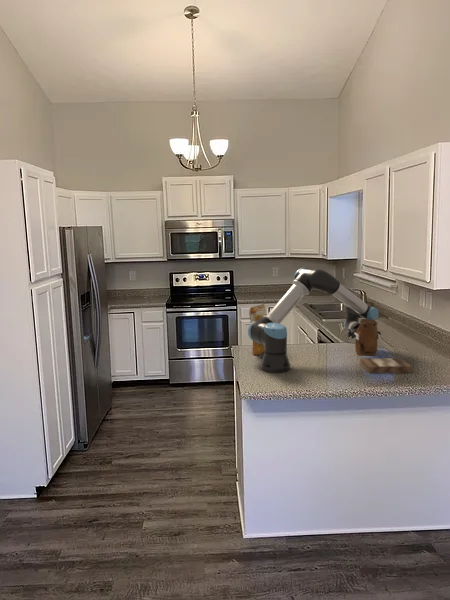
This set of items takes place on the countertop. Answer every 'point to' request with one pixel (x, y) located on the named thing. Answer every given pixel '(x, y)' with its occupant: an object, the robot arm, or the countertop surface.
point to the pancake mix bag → (255, 315)
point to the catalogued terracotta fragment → (367, 338)
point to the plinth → (385, 365)
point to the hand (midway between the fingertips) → (368, 337)
